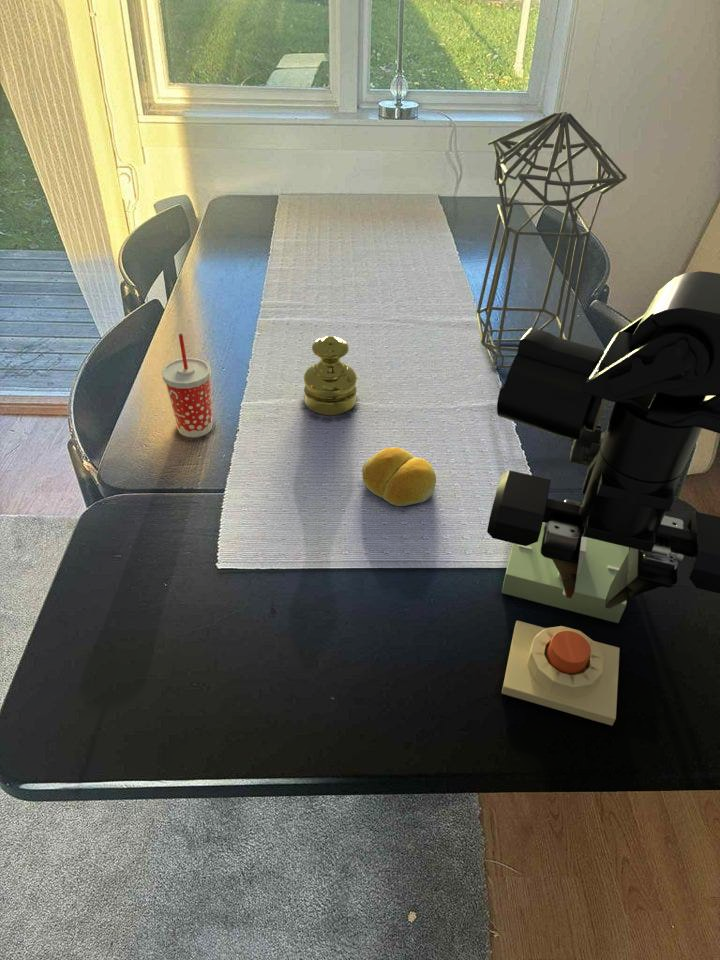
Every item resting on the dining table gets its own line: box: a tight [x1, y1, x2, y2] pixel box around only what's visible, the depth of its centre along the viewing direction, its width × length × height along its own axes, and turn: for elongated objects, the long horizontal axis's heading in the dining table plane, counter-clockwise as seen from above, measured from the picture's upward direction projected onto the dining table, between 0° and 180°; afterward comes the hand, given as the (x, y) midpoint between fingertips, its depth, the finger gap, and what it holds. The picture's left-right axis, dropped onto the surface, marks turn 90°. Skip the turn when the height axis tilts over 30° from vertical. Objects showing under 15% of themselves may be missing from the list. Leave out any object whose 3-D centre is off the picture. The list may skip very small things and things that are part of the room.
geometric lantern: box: [475, 111, 628, 369], centre depth 99 cm, size 16×16×35 cm
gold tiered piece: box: [303, 335, 358, 416], centre depth 96 cm, size 7×8×10 cm
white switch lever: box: [558, 537, 587, 579], centre depth 72 cm, size 6×2×5 cm, turn 162°
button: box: [547, 631, 591, 674], centre depth 64 cm, size 4×4×2 cm
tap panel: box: [501, 522, 630, 624], centre depth 75 cm, size 12×11×3 cm
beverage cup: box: [161, 333, 214, 438], centre depth 90 cm, size 6×6×14 cm
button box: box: [501, 620, 621, 727], centre depth 66 cm, size 10×8×3 cm
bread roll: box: [361, 446, 437, 507], centre depth 85 cm, size 8×9×4 cm
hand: (588, 599), depth 59 cm, fingers open, 3 cm apart
